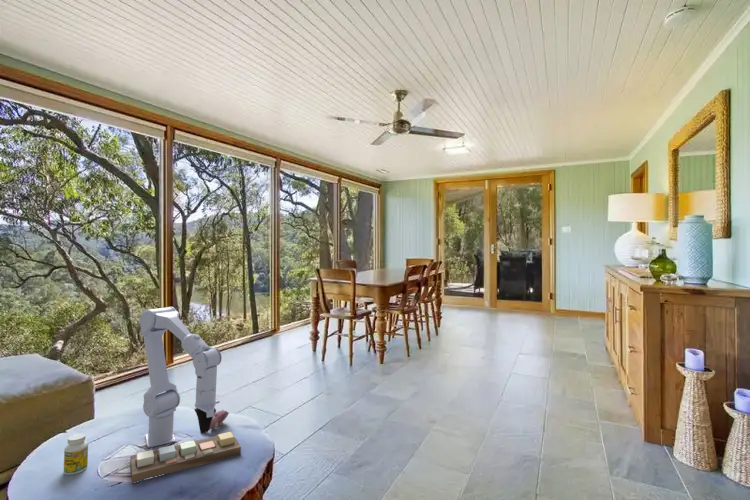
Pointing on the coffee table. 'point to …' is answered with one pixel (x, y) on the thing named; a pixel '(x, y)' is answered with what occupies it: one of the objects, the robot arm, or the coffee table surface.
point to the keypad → (184, 459)
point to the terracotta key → (206, 446)
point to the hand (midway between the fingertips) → (204, 431)
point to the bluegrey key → (166, 453)
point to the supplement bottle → (75, 454)
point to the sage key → (187, 448)
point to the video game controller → (218, 419)
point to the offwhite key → (145, 458)
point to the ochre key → (225, 439)
